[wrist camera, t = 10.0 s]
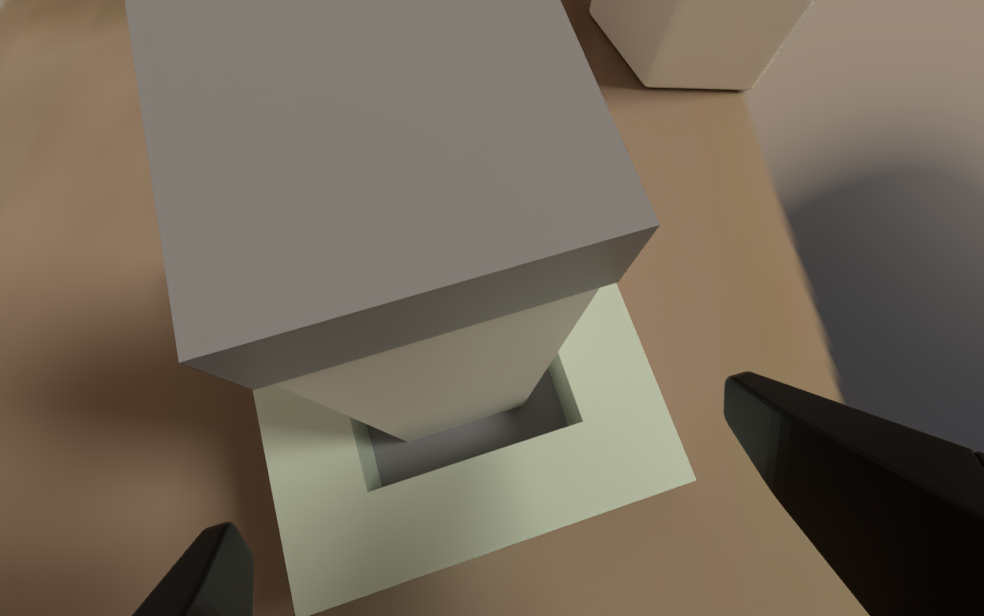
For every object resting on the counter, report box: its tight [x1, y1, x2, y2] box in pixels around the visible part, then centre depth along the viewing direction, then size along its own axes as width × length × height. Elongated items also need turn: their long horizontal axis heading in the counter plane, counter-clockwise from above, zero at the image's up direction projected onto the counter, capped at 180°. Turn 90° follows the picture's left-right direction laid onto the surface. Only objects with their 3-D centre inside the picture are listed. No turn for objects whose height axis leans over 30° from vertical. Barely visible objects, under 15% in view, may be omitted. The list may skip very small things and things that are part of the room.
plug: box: [125, 0, 660, 442], centre depth 12 cm, size 4×4×14 cm
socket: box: [253, 283, 696, 616], centre depth 18 cm, size 11×11×3 cm
